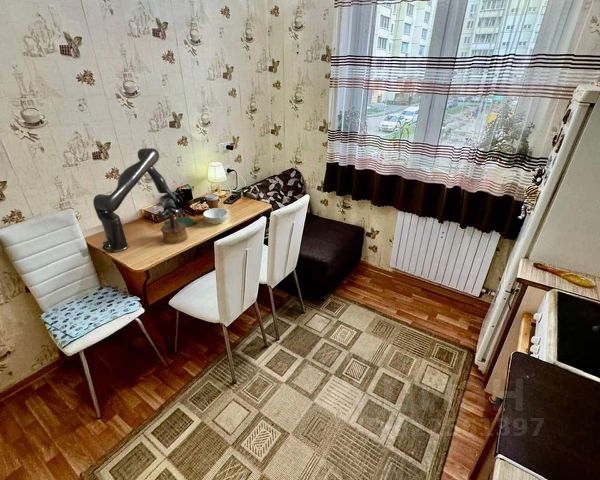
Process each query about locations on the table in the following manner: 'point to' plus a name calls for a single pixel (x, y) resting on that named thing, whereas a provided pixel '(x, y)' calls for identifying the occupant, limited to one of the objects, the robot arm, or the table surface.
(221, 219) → the cereal bowl
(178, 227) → the basket lid
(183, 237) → the basket
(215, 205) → the disposable coffee cup
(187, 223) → the mat
